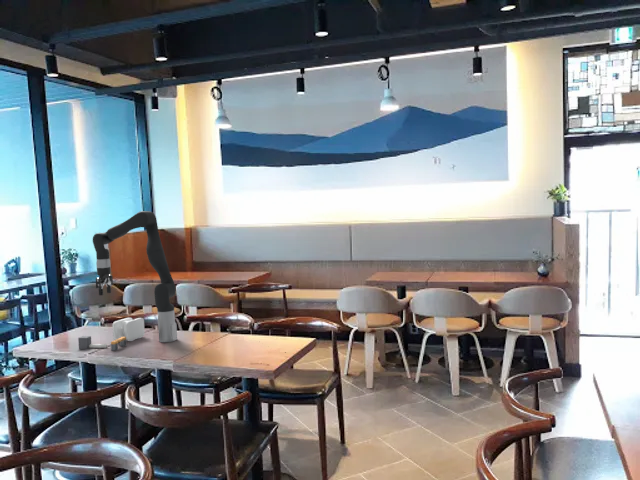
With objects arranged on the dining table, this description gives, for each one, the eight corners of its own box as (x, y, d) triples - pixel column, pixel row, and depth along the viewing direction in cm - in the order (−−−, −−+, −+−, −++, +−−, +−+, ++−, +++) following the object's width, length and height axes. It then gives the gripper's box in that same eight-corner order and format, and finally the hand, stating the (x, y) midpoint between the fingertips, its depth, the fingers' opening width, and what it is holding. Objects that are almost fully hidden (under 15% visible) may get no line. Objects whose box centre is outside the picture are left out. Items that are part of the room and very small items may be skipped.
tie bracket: (126, 345, 290) (126, 336, 290) (115, 350, 279) (115, 342, 279) (122, 345, 290) (122, 336, 290) (111, 350, 279) (110, 342, 279)
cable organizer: (127, 343, 295) (125, 322, 294) (112, 341, 299) (111, 321, 298) (145, 336, 309) (144, 317, 308) (131, 335, 313) (129, 316, 312)
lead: (108, 346, 288) (107, 336, 287) (104, 348, 284) (103, 337, 283) (83, 346, 290) (82, 336, 290) (78, 348, 286) (78, 337, 286)
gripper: (102, 268, 299) (104, 296, 300) (115, 265, 313) (117, 292, 314) (90, 268, 300) (92, 296, 301) (104, 265, 314) (105, 292, 315)
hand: (105, 294), depth 308 cm, fingers open, 8 cm apart
